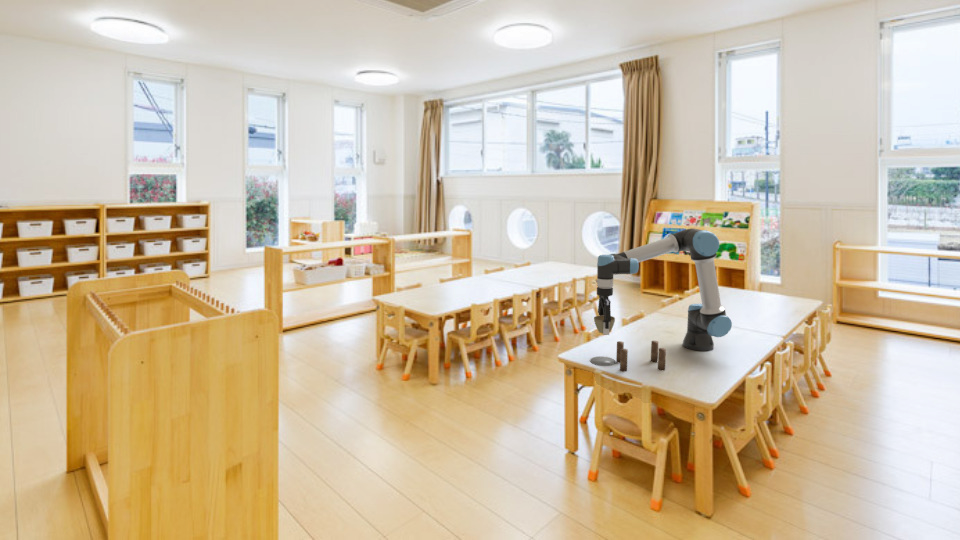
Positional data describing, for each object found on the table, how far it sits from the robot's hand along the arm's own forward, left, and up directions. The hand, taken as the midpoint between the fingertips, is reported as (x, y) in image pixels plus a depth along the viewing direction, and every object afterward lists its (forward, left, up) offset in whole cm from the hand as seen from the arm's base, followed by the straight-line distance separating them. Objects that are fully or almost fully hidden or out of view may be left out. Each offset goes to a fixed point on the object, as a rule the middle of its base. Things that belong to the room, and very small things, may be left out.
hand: (603, 331), depth 255 cm
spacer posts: (-16, +6, -15) cm, 23 cm away
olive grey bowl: (0, 0, -1) cm, 1 cm away
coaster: (0, 0, -15) cm, 15 cm away
